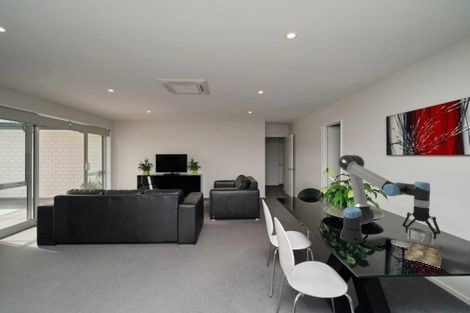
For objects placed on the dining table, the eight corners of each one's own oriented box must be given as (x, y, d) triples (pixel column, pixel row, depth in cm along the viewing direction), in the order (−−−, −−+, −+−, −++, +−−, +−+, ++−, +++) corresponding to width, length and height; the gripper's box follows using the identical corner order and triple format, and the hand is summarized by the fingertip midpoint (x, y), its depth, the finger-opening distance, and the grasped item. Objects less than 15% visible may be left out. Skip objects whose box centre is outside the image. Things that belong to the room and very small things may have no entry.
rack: (404, 258, 133) (405, 246, 133) (409, 249, 146) (409, 238, 146) (440, 269, 122) (440, 255, 121) (441, 258, 135) (442, 245, 135)
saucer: (389, 244, 155) (389, 242, 155) (392, 240, 163) (392, 237, 163) (410, 250, 146) (410, 247, 146) (412, 245, 154) (413, 242, 154)
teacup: (409, 237, 144) (409, 226, 144) (431, 242, 137) (431, 230, 137) (409, 244, 133) (409, 231, 133) (433, 249, 126) (433, 236, 126)
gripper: (397, 203, 141) (396, 237, 141) (447, 211, 124) (445, 249, 124) (399, 202, 146) (398, 234, 146) (447, 209, 129) (446, 245, 129)
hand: (420, 241), depth 135 cm, fingers closed on teacup, 11 cm apart
